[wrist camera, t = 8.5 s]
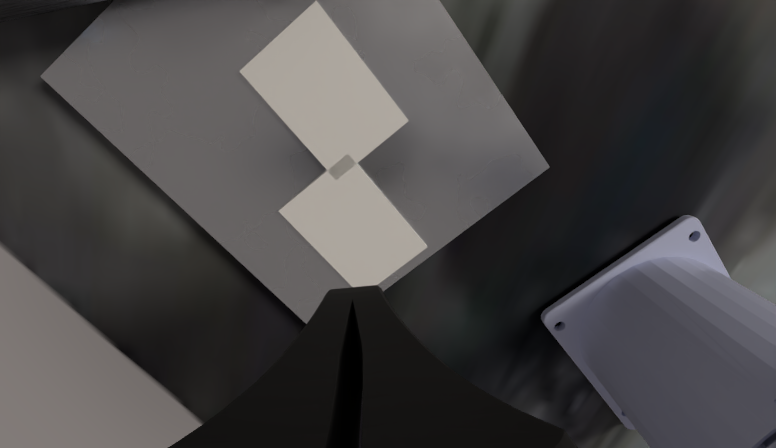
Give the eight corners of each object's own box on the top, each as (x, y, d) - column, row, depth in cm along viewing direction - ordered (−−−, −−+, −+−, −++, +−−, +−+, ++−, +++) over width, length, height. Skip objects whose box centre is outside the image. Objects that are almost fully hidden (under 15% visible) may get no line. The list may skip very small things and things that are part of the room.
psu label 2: (426, 245, 18) (427, 247, 18) (361, 294, 18) (361, 296, 18) (347, 152, 16) (347, 153, 16) (279, 209, 17) (278, 211, 17)
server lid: (541, 162, 18) (549, 167, 17) (322, 327, 20) (321, 337, 19) (310, -184, 13) (307, -199, 12) (55, 75, 15) (40, 76, 14)
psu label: (408, 120, 16) (408, 120, 16) (336, 179, 16) (336, 180, 16) (316, 1, 14) (316, 0, 14) (240, 70, 15) (239, 71, 15)
